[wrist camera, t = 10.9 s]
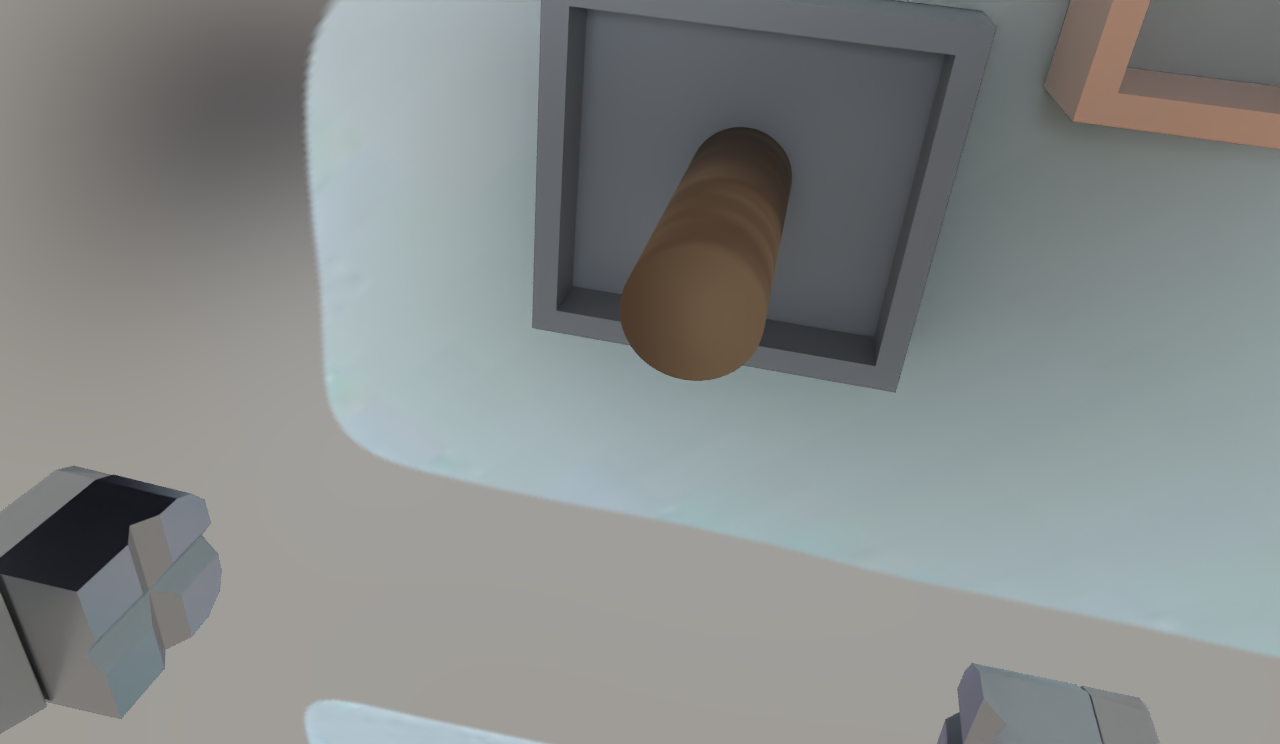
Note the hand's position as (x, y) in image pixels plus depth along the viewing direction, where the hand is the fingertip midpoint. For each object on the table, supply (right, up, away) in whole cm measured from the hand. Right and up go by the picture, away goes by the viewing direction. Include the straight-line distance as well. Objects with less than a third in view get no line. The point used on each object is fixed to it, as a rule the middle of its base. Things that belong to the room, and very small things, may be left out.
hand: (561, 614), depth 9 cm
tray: (+4, +9, +19) cm, 22 cm away
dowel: (+4, +9, +19) cm, 21 cm away
